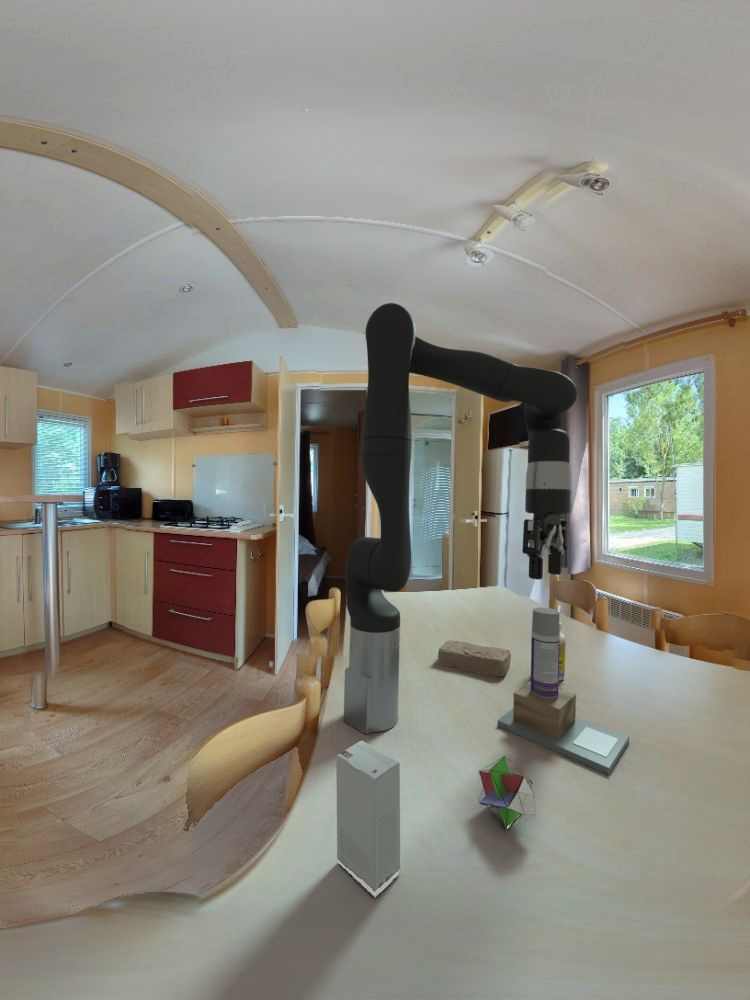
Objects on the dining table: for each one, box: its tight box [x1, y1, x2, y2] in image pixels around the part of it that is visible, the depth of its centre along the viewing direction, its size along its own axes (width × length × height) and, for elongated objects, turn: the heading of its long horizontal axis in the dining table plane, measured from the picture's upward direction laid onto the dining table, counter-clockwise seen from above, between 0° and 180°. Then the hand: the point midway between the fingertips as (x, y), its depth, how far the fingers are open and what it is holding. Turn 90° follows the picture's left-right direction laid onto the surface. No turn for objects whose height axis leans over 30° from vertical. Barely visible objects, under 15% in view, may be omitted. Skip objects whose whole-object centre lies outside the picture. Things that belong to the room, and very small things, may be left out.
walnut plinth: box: [512, 680, 577, 739], centre depth 73 cm, size 8×8×5 cm
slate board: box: [497, 708, 630, 775], centre depth 71 cm, size 12×18×1 cm, turn 45°
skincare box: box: [335, 740, 401, 892], centre depth 44 cm, size 6×4×12 cm
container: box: [530, 607, 561, 700], centre depth 73 cm, size 5×5×15 cm
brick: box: [437, 639, 512, 677], centre depth 100 cm, size 17×8×5 cm, turn 62°
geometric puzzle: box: [477, 755, 537, 831], centre depth 51 cm, size 7×7×8 cm
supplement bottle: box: [559, 621, 567, 682], centre depth 95 cm, size 7×7×13 cm
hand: (545, 576), depth 73 cm, fingers open, 8 cm apart
